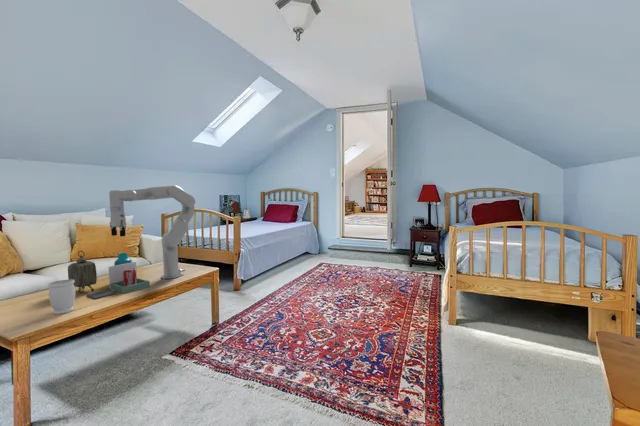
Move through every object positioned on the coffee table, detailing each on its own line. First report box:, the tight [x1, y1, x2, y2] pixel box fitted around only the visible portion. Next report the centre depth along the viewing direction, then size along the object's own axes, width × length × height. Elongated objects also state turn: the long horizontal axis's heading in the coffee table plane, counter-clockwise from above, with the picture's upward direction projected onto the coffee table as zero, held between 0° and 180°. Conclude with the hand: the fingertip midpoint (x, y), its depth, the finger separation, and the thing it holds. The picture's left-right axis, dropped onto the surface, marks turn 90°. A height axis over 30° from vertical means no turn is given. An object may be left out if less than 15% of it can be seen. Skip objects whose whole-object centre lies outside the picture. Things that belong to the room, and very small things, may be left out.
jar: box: [47, 279, 77, 315], centre depth 159 cm, size 11×10×15 cm
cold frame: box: [108, 261, 151, 294], centre depth 198 cm, size 16×17×14 cm
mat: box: [85, 288, 119, 300], centre depth 186 cm, size 12×12×1 cm
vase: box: [113, 252, 133, 266], centre depth 213 cm, size 11×11×19 cm
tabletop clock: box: [67, 250, 98, 293], centre depth 192 cm, size 14×9×25 cm, turn 62°
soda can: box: [123, 268, 137, 287], centre depth 198 cm, size 7×7×12 cm
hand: (118, 235), depth 205 cm, fingers open, 9 cm apart
